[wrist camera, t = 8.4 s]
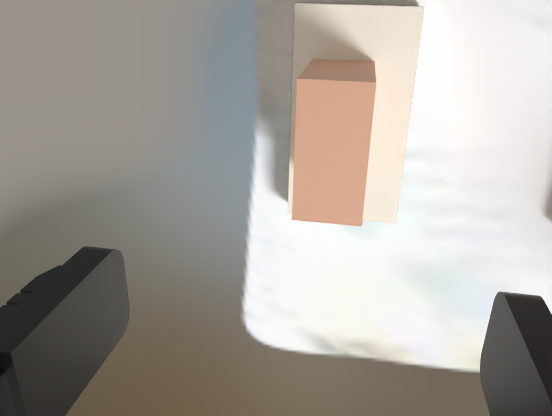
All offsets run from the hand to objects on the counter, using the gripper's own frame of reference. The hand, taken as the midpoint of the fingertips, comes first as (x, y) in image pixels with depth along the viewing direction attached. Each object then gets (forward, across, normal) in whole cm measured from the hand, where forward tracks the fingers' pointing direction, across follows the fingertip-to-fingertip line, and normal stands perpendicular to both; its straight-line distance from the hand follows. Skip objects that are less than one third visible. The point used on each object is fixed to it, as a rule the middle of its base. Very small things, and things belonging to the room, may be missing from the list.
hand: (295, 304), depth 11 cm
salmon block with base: (+18, 0, 0) cm, 18 cm away
